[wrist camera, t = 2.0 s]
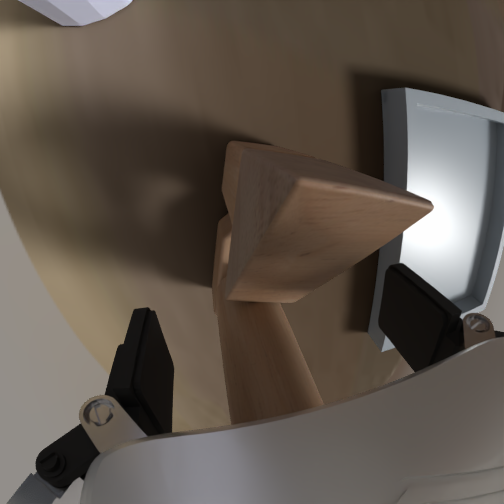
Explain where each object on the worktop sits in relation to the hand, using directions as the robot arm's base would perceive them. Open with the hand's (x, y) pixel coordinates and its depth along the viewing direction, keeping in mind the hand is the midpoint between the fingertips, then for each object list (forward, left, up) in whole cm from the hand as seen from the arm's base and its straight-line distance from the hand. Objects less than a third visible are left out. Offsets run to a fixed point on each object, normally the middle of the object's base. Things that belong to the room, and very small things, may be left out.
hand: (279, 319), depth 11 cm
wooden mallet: (-1, 0, -11) cm, 11 cm away
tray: (+1, +19, -10) cm, 22 cm away
